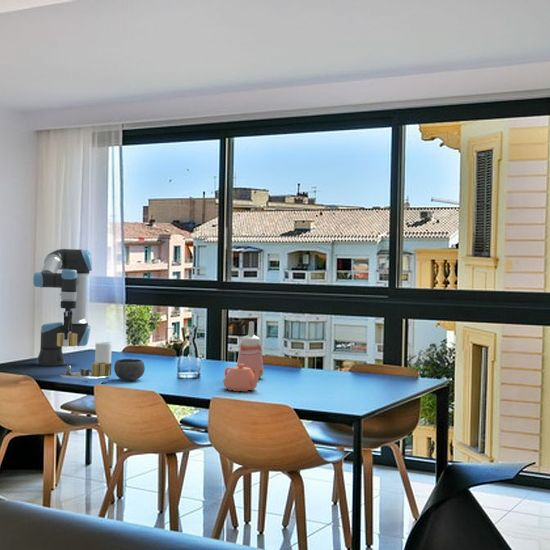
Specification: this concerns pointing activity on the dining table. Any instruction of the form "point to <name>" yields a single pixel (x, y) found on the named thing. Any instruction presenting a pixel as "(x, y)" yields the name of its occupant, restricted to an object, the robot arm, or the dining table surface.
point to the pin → (68, 370)
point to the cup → (103, 352)
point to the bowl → (129, 369)
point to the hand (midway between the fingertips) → (67, 345)
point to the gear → (71, 339)
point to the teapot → (241, 378)
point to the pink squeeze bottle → (251, 351)
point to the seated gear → (101, 369)
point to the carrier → (81, 375)
